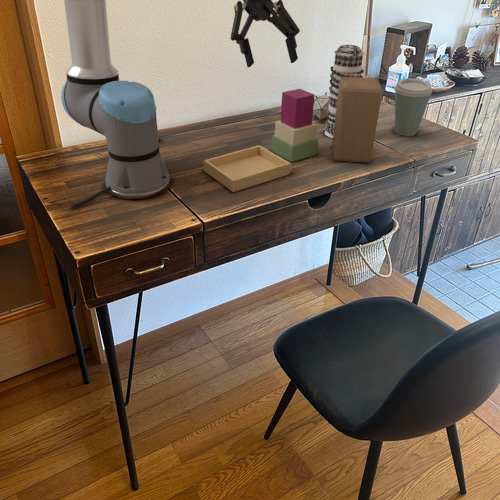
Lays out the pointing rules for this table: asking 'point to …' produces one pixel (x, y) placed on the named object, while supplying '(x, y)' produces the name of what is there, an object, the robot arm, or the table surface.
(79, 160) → the table surface
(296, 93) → the mulberry block
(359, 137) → the wooden block
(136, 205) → the table surface
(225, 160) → the tray
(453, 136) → the table surface
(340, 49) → the leaning tower model
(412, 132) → the disposable coffee cup
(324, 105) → the game die
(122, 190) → the robot arm
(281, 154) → the sage block
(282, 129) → the cream block
